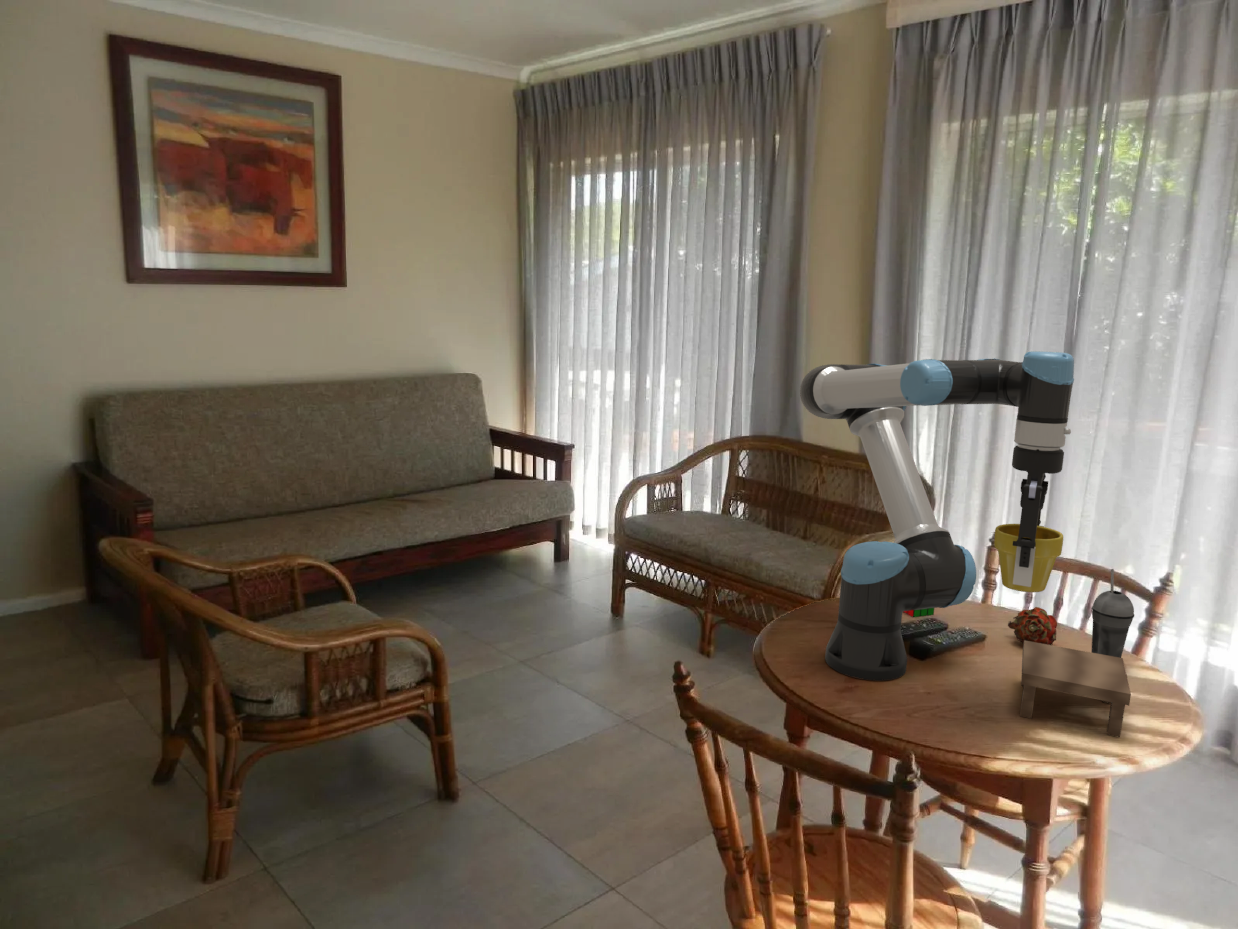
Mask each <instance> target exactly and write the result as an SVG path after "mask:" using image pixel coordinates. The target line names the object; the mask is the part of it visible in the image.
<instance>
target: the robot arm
mask: <svg viewBox="0 0 1238 929" xmlns="http://www.w3.org/2000/svg"><path fill="white" fill-rule="evenodd" d="M1074 371H1075V358H1074V356H1073V355H1071V354H1070V353H1068V352H1059V351H1058V352H1057V351H1056V352H1054V351H1036V350H1035V351H1032V350H1031V351H1026V353H1025V354H1024V355H1023V361H1022V362H1020V361H1014V360H1013V361H1011V360H1004V359H999V358H978V359H962V360H960V359H958V360H953V359H935V358H934V359H932V358H931V359H929V358H928V359H927V358H925V359H921V360H914V361H910V362H907V363H899V364H891V365H889V364H888V365H886V364H880V363H867V364H843V363H842V364H838V363H836V364H835V363H831V364H829V363H828V364H824V365H823V364H822V365H819V366H817V367H815V368H813V369H811V370H810V371H808V373H806V374H805V375H804V377H803V379H802V380H801V384H800V387H799V396H800V400H801V403H802V405H803V407H804V408H805V410H807V411H808V412H809V413H810V414H811V415H814V416H815V417H818V418H820V419H821V418H822V419H826V420H845V421H846V423H847V425H848V428H849V429H848V430H849V431H850V433H851V434H852V435H854V436H857V437H859V438H860V441H861V443H862V446H863V449H864V452H865V456H866V458H867V461H868V464H869V467H870V470H871V472H872V476H873V478H874V481H875V484H876V487H877V490H878V492H879V495H880V498H881V501H882V505H883V507H884V510H885V513H886V516H887V518H888V521H889V524H890V527H891V530H892V532H893V536H894V542H892V541H878V540H875V541H874V540H873V541H865V542H861V543H857V544H854V545H852V546H851V547H849V549H847V551H846V552H845V553H844V556H843V561H842V567H841V569H840V575H841V579H840V589H839V590H840V592H839V601H838V602H839V603H838V604H839V605H838V613H837V614H838V615H837V621H836V622H837V623H836V625H835V627H834V629H833V630H832V633H831V635H830V638H829V640H828V642H827V645H826V647H825V655H824V660H825V662H826V664H827V665H828V666H829V667H830V668H832V669H833V670H835V671H836V672H838V673H839V674H843V675H845V676H847V677H851V678H854V679H858V680H867V681H889V680H890V681H891V680H895V679H896V680H897V679H899V678H900V677H902V676H904V675H905V674H906V673H907V672H906V671H907V665H908V656H907V652H906V648H905V643H904V640H903V636H902V631H901V630H902V620H903V613H904V612H903V611H911V610H919V609H929V608H934V609H935V608H937V609H938V608H939V609H946V608H948V607H951V606H957V605H960V604H962V603H965V602H966V601H967V600H968V599H969V598H970V597H971V595H972V593H973V590H974V589H975V585H976V581H977V565H976V562H975V559H974V556H973V554H972V553H971V551H969V549H967V548H965V547H964V546H962V545H960V544H954V541H953V538H952V536H951V534H950V531H949V530H948V529H946V528H943V527H941V526H939V525H938V522H937V519H936V516H935V514H934V510H933V508H932V506H931V502H930V500H929V497H928V495H927V491H926V489H925V487H924V484H923V481H922V478H921V476H920V472H919V470H918V467H917V465H916V463H915V460H914V457H913V454H912V451H911V449H910V446H909V443H908V440H907V439H906V436H905V433H904V431H903V428H902V425H901V424H902V422H903V420H904V417H905V410H906V408H907V407H910V406H911V407H913V406H914V407H915V406H922V407H926V406H928V407H929V406H948V405H1002V406H1003V405H1004V406H1011V407H1017V416H1016V421H1015V429H1014V440H1013V441H1014V443H1016V444H1017V445H1015V447H1013V450H1012V451H1013V453H1012V461H1011V466H1012V468H1013V469H1015V470H1017V471H1020V472H1027V477H1026V478H1022V480H1021V483H1020V492H1021V493H1020V501H1019V503H1020V504H1019V505H1020V507H1021V514H1020V522H1019V524H1020V527H1019V535H1018V540H1017V541H1013V546H1017V550H1016V559H1015V568H1014V577H1013V584H1015V585H1021V586H1027V587H1031V582H1032V574H1033V565H1034V556H1035V548H1036V547H1035V546H1036V542H1035V539H1036V531H1037V526H1042V527H1045V525H1041V523H1042V521H1041V516H1042V510H1043V509H1044V504H1045V500H1046V495H1047V493H1048V489H1049V481H1048V480H1046V478H1047V476H1046V474H1049V475H1051V474H1053V475H1054V474H1059V473H1060V472H1062V470H1063V465H1064V458H1065V452H1064V450H1063V449H1061V448H1063V447H1064V446H1065V444H1066V438H1067V437H1066V435H1070V434H1071V433H1072V431H1071V428H1066V427H1067V426H1068V420H1069V412H1070V411H1069V410H1070V404H1071V396H1072V390H1073V385H1074V381H1075V378H1074V374H1075V373H1074ZM1023 537H1026V538H1031V539H1025V538H1023Z"/></svg>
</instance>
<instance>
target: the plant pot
mask: <svg viewBox="0 0 1238 929" xmlns="http://www.w3.org/2000/svg"><path fill="white" fill-rule="evenodd" d="M1042 526H1043V525H1039V526H1037V531H1036V539H1035V542H1036V546H1035V547H1036V548H1035V556H1034V565H1033V574H1032V582H1031V587H1027V586H1021V585H1015V584H1013V577H1014V568H1015V559H1016V550H1017V546H1013V541H1017V540H1018V535H1019V527H1020V523H1005V524H1000V525H997V526H996V527H995V529H994V548H995V550H997V551H998V552H997V553H998V554H997V555H998V560H999V569H1000V577H1001V583H1002V585H1003V587H1005V588H1007V589H1009V590H1014V591H1015V592H1016V591H1017V592H1023V593H1040V592H1043V591H1045V590H1046V588H1047V585H1048V583H1049V579H1050V576H1051V574H1052V572H1053V568H1054V565H1055V563H1056V560H1057V558H1058V557H1060V556H1061V555H1062V551H1063V546H1064V534H1063V533H1062V532H1060V531H1059V530H1056V529H1053V528H1051V527H1048V526H1047V527H1046V526H1044V527H1042ZM1023 538H1025V539H1031V538H1026V537H1023Z"/></svg>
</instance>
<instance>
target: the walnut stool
mask: <svg viewBox="0 0 1238 929" xmlns="http://www.w3.org/2000/svg"><path fill="white" fill-rule="evenodd" d="M1021 657H1022V659H1021V660H1022V661H1021V677H1020V678H1021V681H1020V684H1021V685H1020V686H1022V687H1023V690H1022V696H1021V704H1020V711H1019V712H1020V713H1019V716H1020V717H1022V718H1028V719H1033V718H1032V717H1033V711H1034V706H1035V705H1034V704H1035V698H1036V697H1035V696H1036V690H1037V689H1036V688H1039V689H1043V690H1050V691H1052V692H1053V691H1054V692H1059V693H1063V694H1064V693H1065V694H1067V695H1068V694H1070V695H1074V696H1079V697H1085V698H1087V699H1088V698H1089V699H1094V700H1099V701H1101V702H1102V703H1104V702H1108V703H1107V704H1109V703H1111V704H1110V708H1109V714H1108V720H1107V726H1106V732H1107V734H1108V735H1107V734H1106V735H1107V736H1112V737H1115V736H1118V737H1117V738H1121V734H1122V729H1123V728H1122V727H1123V720H1124V714H1125V708H1126V706H1130V704H1131V698H1132V697H1131V696H1132V693H1131V688H1130V685H1129V680H1128V675H1127V672H1126V666H1125V662H1124V658H1123V657H1121V658H1119V657H1113V656H1108V655H1102V654H1097V653H1091V651H1085V650H1079V649H1074V648H1068V647H1063V646H1057V645H1053V644H1052V645H1047V644H1041V643H1036V642H1030V641H1025V640H1024V643H1023V646H1022V656H1021Z"/></svg>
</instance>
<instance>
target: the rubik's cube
mask: <svg viewBox="0 0 1238 929" xmlns="http://www.w3.org/2000/svg"><path fill="white" fill-rule="evenodd" d="M902 613H904V614H906V615H908V616H910V617H912V618H919V617H928V616H934V615H935V608H929V609H919V610H911V611H903V612H902Z"/></svg>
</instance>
